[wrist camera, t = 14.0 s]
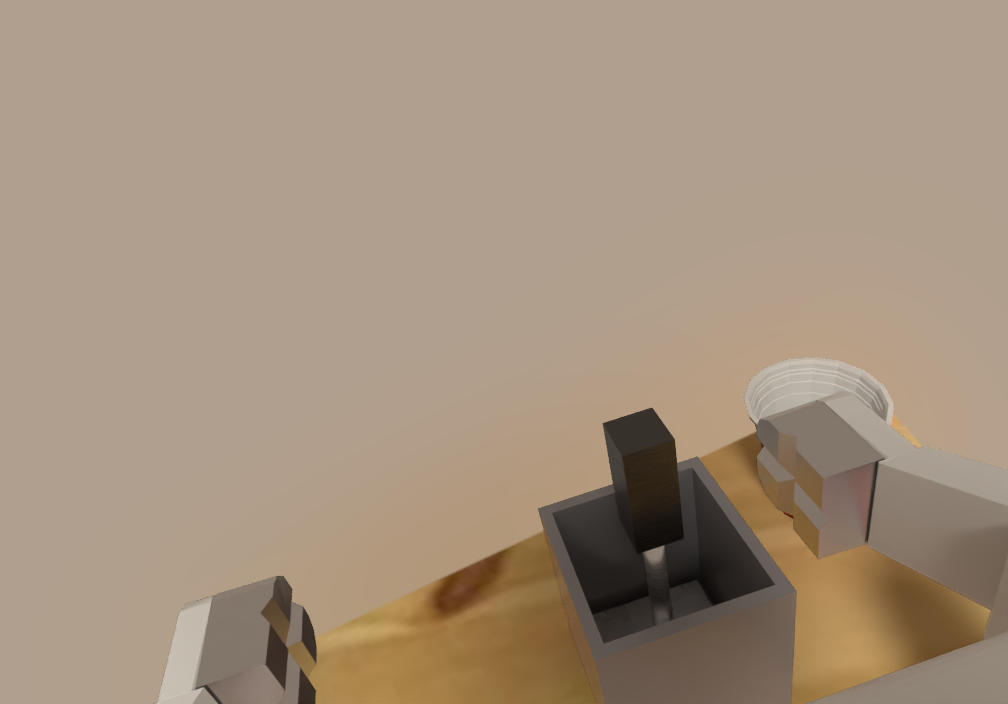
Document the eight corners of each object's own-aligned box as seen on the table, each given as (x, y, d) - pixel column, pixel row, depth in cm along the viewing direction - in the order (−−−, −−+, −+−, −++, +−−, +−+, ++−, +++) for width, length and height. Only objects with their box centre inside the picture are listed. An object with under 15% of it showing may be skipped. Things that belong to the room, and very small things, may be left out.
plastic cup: (774, 562, 55) (776, 456, 48) (728, 471, 64) (724, 372, 57) (907, 536, 54) (926, 425, 47) (840, 448, 63) (850, 345, 57)
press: (623, 780, 44) (594, 661, 36) (569, 626, 54) (538, 508, 46) (790, 719, 45) (796, 591, 37) (706, 580, 55) (697, 456, 47)
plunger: (632, 739, 44) (585, 515, 32) (587, 623, 52) (537, 408, 40) (759, 693, 45) (759, 458, 33) (697, 585, 52) (678, 364, 41)
